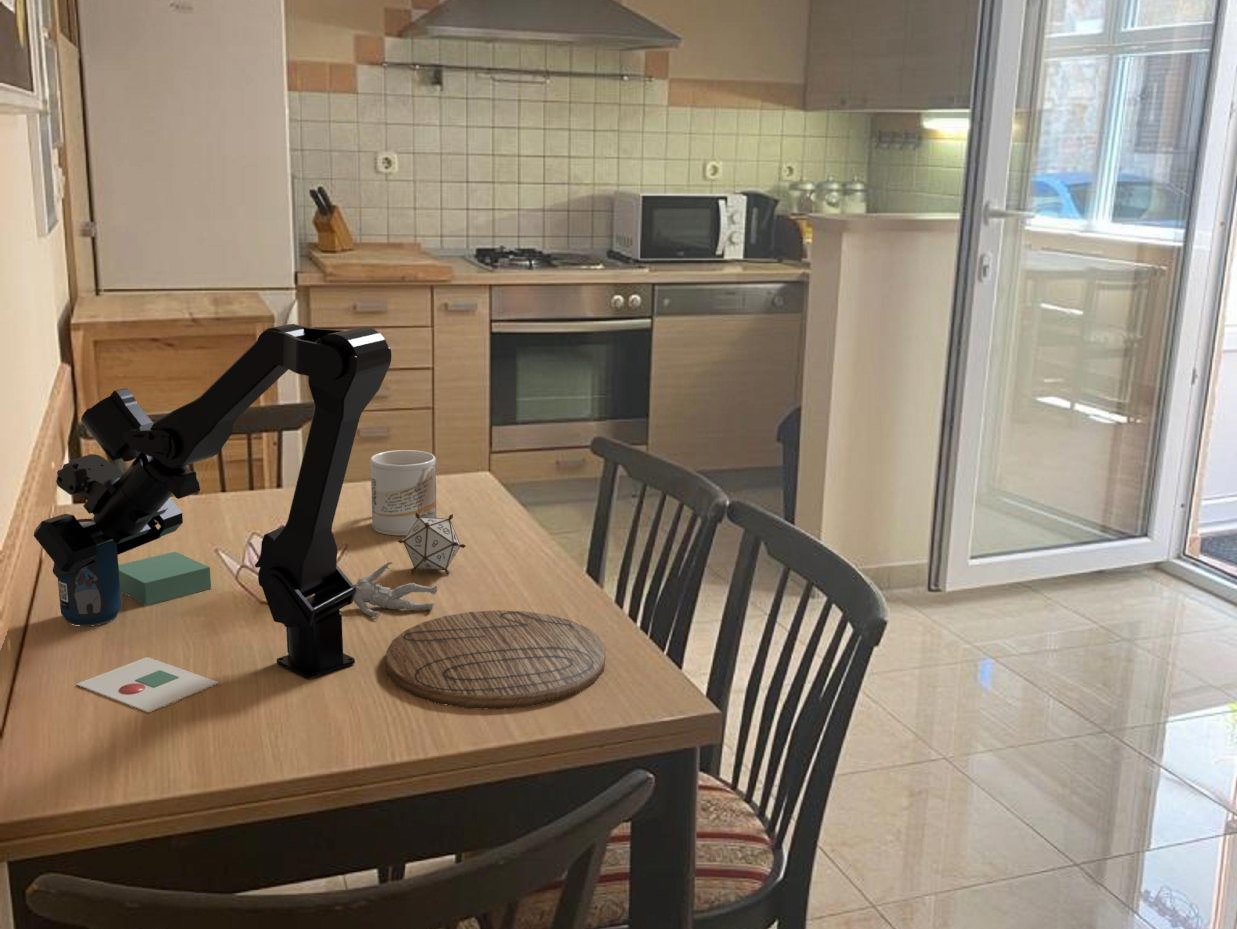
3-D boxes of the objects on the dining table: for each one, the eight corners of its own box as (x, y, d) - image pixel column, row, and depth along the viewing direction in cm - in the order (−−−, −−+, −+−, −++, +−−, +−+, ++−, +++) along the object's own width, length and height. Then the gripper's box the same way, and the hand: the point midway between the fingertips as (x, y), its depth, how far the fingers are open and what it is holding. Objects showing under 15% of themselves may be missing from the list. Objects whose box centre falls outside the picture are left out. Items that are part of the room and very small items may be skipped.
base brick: (211, 588, 165) (209, 567, 165) (146, 605, 159) (144, 583, 158) (172, 570, 172) (170, 549, 171) (108, 585, 166) (106, 564, 165)
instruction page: (218, 683, 137) (218, 681, 136) (148, 713, 129) (148, 710, 129) (147, 658, 143) (147, 656, 143) (76, 685, 135) (76, 682, 135)
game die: (444, 592, 177) (484, 534, 177) (429, 591, 168) (472, 530, 169) (393, 556, 178) (434, 498, 178) (377, 553, 169) (419, 492, 170)
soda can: (104, 604, 159) (96, 513, 156) (133, 617, 155) (126, 524, 152) (50, 618, 154) (41, 525, 151) (79, 633, 150) (71, 537, 147)
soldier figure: (428, 628, 156) (334, 602, 154) (420, 641, 160) (328, 617, 158) (442, 573, 161) (350, 547, 158) (434, 587, 165) (344, 562, 162)
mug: (356, 531, 191) (354, 461, 188) (392, 510, 202) (391, 444, 199) (419, 539, 188) (418, 467, 185) (452, 517, 199) (451, 449, 197)
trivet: (369, 637, 151) (368, 623, 151) (566, 615, 160) (566, 601, 159) (410, 726, 128) (410, 709, 128) (637, 694, 137) (638, 678, 137)
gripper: (158, 422, 156) (96, 496, 162) (38, 453, 139) (-25, 535, 146) (213, 490, 155) (149, 563, 161) (98, 531, 138) (32, 610, 145)
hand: (78, 565), depth 153 cm, fingers closed on soda can, 7 cm apart
